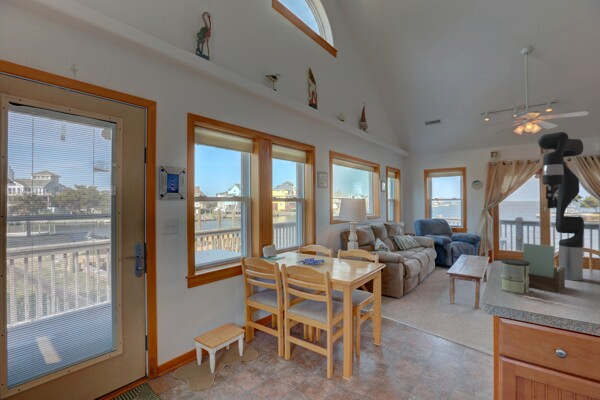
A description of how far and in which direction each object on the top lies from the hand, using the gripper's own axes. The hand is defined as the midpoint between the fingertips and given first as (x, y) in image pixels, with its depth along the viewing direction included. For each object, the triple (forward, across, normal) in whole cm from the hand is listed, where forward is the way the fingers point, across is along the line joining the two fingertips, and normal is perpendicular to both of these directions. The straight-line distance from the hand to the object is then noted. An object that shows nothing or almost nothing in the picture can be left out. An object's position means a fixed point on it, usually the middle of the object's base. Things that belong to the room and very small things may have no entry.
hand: (552, 208), depth 134 cm
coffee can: (+38, +23, -9) cm, 46 cm away
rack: (+38, +7, -3) cm, 39 cm away
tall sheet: (+37, +11, -3) cm, 39 cm away
